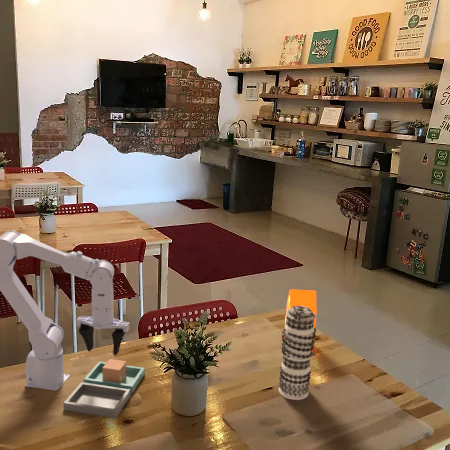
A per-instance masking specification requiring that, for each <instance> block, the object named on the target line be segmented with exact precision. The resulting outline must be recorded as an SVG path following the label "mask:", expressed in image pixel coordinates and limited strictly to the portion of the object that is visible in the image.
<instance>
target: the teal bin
mask: <svg viewBox="0 0 450 450" xmlns="http://www.w3.org/2000/svg"><path fill="white" fill-rule="evenodd" d="M106 363H107V361H105V362H104V361H98V362H97V363H96V365H95V366H94V367H92V369H91V370H90V372H89V373H88V374H86V376H85V377H84V378H83V382H84V383H91V384H97V385H104V386H110V387H117V388H124V389H130V394H133V393H134V391H135V390H136V388H137V387H138V385H139V384H140V382H141V380H142V379H143V377H144V376H145V372H146V369H145V367H141V366H134V365H133V366H132V365H127V364H126V378H125V380H124V381H123V382H122V383H117V382H110V381H104V380H103V372H102V368H103V366H104V365H105V364H106Z"/></svg>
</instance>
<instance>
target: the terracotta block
mask: <svg viewBox="0 0 450 450" xmlns="http://www.w3.org/2000/svg"><path fill="white" fill-rule="evenodd" d="M126 365H127V361H126V360H120V359H113V358H112V359H111V358H109V359H108V360H107V361H106V364H105V365H104V366H103V368H102V372H103V380H104V381H110V382H117V383H122V382H123V381H124V380H125V378H126Z"/></svg>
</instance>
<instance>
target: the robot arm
mask: <svg viewBox="0 0 450 450" xmlns="http://www.w3.org/2000/svg"><path fill="white" fill-rule="evenodd" d="M27 257H34V258H36V259H40V260H43V261H46V262H50V263H53V264H56V265H57V266H61V267H62V270H63V271H64V273H68V274H70V275H73V276H74V277H78V278H80V279H84V280H86V281H89V282H90V284H91V316H79V317H77V319H76V326H79V328H78V333H79V335H80V336H81V337H82V339H83V341H84V343H85V347H86V349H87V352H91V351H92V350H93V349H94V330H100V331H101V330H102V329H109V330H114V331H113V332H112V333H111V337H112V342H113V347H112V348H113V355H114V356H117V355H118V354H119V352H120V348H121V343H122V340H123V338H124V336H125V334H126V333H127V332H128V331H129V330H130V322H128V321H127V322H126V321H123V320H120V319H117V318H114V315H115V314H114V313H115V312H114V283H113V279H114V275H115V268H114V266H113V264H112V263H111V262H109V261H108V260H107V259H98V258H96V259H93V258H91V257H88V256H86V255H83V252H82V251H80V250H77V252H76V251H71V252H64V251H62V250H59V249H57V248H54V247H52V246H50V245H48V244H46V243H43V242H41V241H39V240H37V239H34V238H32V237H31V236H29V235H28V234H25V233H20V232H18V231H16V230H7V231H5V232H3V233H2V234H1V235H0V292H1V294H2V295H3V296H4V298H5V299H6V301H7V303H8V304H9V305H10V306H11V308H12V309H13V310H14V312H15V314H16V315H17V316H18V318H19V319H20V320H21V322H22V324H23V325H24V326H25V327H26V329H27V331H28V333H27V334H28V342H30V344H31V346H32V350H30V352H29V353H28V355H27V356H26V361H25V377H26V378H25V379H26V383H25V384H24V387H27V388H38V389H42V390H43V389H45V390H49V391H50V390H51V391H58V390H59V389H60V387H62V385H63V384H64V383H65V382H66V381H67V380H68V379H69V378H70V376H71V375H70V374H65V370H64V349H63V347H62V345H61V343H62V341H63V340H64V337H65V332H64V329H63V327H61V326H60V325H58V324H56V323H55V322H54V321H53V319H52V318H50V317H47V316H45V314H44V313H43V311H42V310H41V309H40V306H39V305H38V304H37V302H36V301H35V300H34V299H33V297H32V295H31V294H30V293H29V292H28V290H27V289H26V287H25V286H24V284H23V283H22V281H21V280H20V278H19V277H18V275H17V274H16V272H15V271H14V267H15V264H16V260H21V259H24V258H27Z"/></svg>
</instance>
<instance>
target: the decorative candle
mask: <svg viewBox="0 0 450 450" xmlns="http://www.w3.org/2000/svg"><path fill="white" fill-rule="evenodd" d="M286 310H287V309H286ZM286 310H285V320H286V322H284V328H283V330H282V332H281V334H282V335H281V341H282V342H281V345H282V346H281V354H282V361H281V366H280V367H279V369H280V372H279V379H278V380H279V382H278V392H279V394H280V395H281V396H282V397H284V398H285V399H288V400H294V401H301V400H303V399H306V398H308V396H309V391H310V385H311V383H310V380H311V374H312V372H311V359H312V358H313V355H314V353H313V352H312V350H313V351H314V349H315V347H314V344H315V343H316V342H315V338H316V337H317V335H316V333H317V328H316V326H315V327H314V318H315V317H316V318H317V315H316V316H315V314H314V313H313V312H312V310H311V309H309V308H308V307H305V306H293V307H291V308H290V309H289V310H287V311H286ZM286 315H287V317H286ZM285 332H286V333H285ZM312 335H313V336H312ZM284 338H285V339H284Z"/></svg>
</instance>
